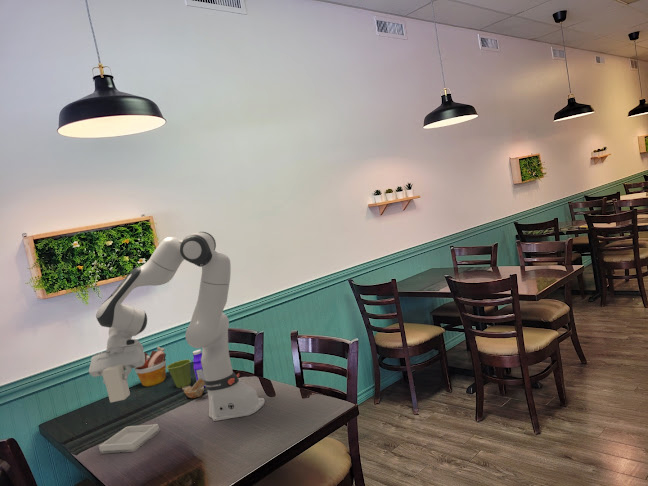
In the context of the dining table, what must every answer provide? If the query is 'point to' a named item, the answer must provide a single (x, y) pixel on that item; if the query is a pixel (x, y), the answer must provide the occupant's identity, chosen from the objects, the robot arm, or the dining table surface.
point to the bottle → (198, 365)
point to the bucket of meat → (153, 368)
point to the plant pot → (180, 373)
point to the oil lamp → (195, 389)
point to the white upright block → (116, 383)
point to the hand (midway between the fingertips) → (115, 381)
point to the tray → (129, 439)
